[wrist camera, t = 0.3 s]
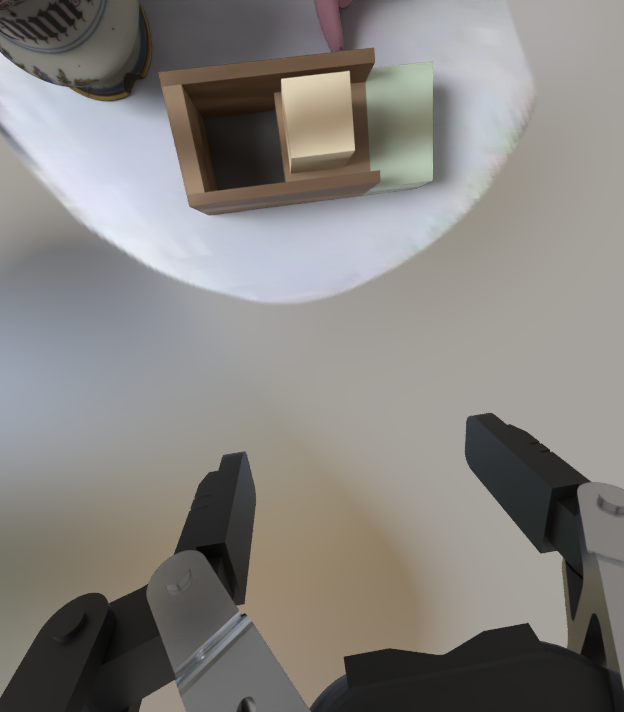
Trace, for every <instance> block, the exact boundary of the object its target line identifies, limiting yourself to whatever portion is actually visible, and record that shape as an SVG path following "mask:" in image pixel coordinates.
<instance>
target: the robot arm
mask: <svg viewBox="0 0 624 712" xmlns="http://www.w3.org/2000/svg"><path fill="white" fill-rule="evenodd" d="M465 455H466V460H467V463H468V465H469V467H470V469H471V470H472V471H473V472H474V474H475V475H476V476H477V477H478V479H479V480H480V481H481V482H482V483H483V484H484V486H485V487H486V488H487V489H488V491H489V492H490V493H491V494H492V495H493V497H494V498H495V499H496V500H497V501H498V502H499V504H500V505H501V506H502V508H503V509H504V510H505V511H506V512H507V514H508V515H509V516H510V517H511V518H512V520H513V521H514V522H515V523H516V524H517V526H518V527H519V528H520V529H521V530H522V532H523V533H524V534H525V535H526V537H527V538H528V539H529V540H530V541H531V543H532V544H533V545H534V546H535V547H536V549H537V550H538V551H539V552H540V553H546V552H552V551H558V552H559V553H560V554H561V555H562V556H563V561H562V574H563V585H564V596H565V606H566V615H567V616H566V617H567V627H568V645H567V648H564V647H561V646H559V645H555V644H550V643H547V642H542V641H539V639H538V637H537V636H536V634H535V633H534V631H533V630H532V628H531V627H530V625H529V623H526V624H520V625H515V626H509V627H504V628H498V629H493V630H488V631H483V632H482V633H480V634H478V635H476V636H475V637H473V638H472V639H470V640H468V641H467V642H465V643H463V644H462V645H460V646H458V647H457V648H455V649H453V650H452V651H450V652H448V653H446V654H444V655H434V654H427V653H419V652H412V651H405V650H398V649H383V650H378V651H373V652H368V653H362V654H356V655H351V656H345V657H344V663H345V670H346V674H345V675H343V676H342V677H340V678H338V679H337V680H335V681H334V682H333V683H332V684H331V685H330V686H328V687H327V688H326V689H325V690H324V691H323V692H322V693H321V694H320V696H319V697H318V698H317V699H316V700H315V702H314V703H313V704H312V706H311V707H310V709H309V708H308V706H307V705H306V703H305V702H304V700H303V699H302V697H301V695H300V694H299V692H298V691H297V689H296V688H295V686H294V685H293V683H292V682H291V680H290V679H289V677H288V676H287V674H286V673H285V671H284V669H283V668H282V666H281V665H280V663H279V662H278V660H277V659H276V657H275V656H274V654H273V653H272V651H271V650H270V648H269V647H268V645H267V643H266V642H265V640H264V639H263V637H262V636H261V634H260V633H259V631H258V630H257V628H256V627H255V625H254V624H253V622H252V621H251V619H250V618H249V617H248V616H247V615H246V614H243V615H242V614H241V612H240V611H239V610H238V608H237V607H236V606H237V605H242V604H244V603H245V595H246V586H247V576H248V568H249V559H250V551H251V542H252V533H253V524H254V515H255V506H256V493H255V486H254V482H253V478H252V474H251V470H250V465H249V461H248V457H247V454H246V452H238V453H232V454H226V455H223V457H222V460H221V463H220V467H219V471H214V472H209V473H208V474H207V475H206V477H205V478H204V479H203V480H202V481H201V483H200V484H199V486H198V489H197V492H196V494H195V500H193V503H192V506H191V511H189V514H188V517H187V519H186V522H185V525H184V528H183V531H182V533H181V536H180V539H179V542H178V545H177V548H176V550H175V553H174V555H173V556H172V557H170V558H169V559H167V560H166V561H165V562H163V563H162V564H161V565H160V566H159V567H158V569H157V570H156V571H155V572H154V574H153V575H152V577H151V579H150V581H149V583H148V584H147V585H146V586H144V587H142V588H140V589H138V590H136V591H134V592H132V593H130V594H128V595H125V596H123V597H121V598H119V599H117V600H115V601H113V602H111V603H108V601H107V599H106V598H105V596H103V595H102V594H100V593H88V594H85V595H82V596H80V597H77V598H76V599H74V600H72V601H70V602H69V603H67V604H66V605H64V606H63V607H62V608H61V609H59V610H58V611H57V612H56V613H55V614H54V615H53V616H52V617H51V618H50V619H49V620H48V621H47V622H46V624H45V625H44V626H43V627H42V629H41V630H40V632H39V633H38V635H37V636H36V638H35V640H34V641H33V643H32V645H31V647H30V648H29V650H28V652H27V653H26V655H25V657H24V658H23V660H22V662H21V664H20V665H19V667H18V669H17V670H16V672H15V674H14V675H13V677H12V679H11V681H10V682H9V684H8V686H7V687H6V689H5V691H4V692H3V694H2V696H1V698H0V712H139V708H140V705H141V701H142V699H143V698H144V697H146V696H148V695H150V694H151V693H153V692H154V691H156V690H158V689H160V688H161V687H163V686H164V685H166V684H168V683H170V682H171V681H173V680H175V681H176V684H177V688H178V690H179V693H180V696H181V699H182V701H183V704H184V707H185V710H186V712H624V489H622V488H619V487H617V486H614V485H610V484H605V483H599V482H591V481H589V480H588V479H587V478H585V477H584V476H583V475H582V474H580V473H579V472H578V471H576V470H575V469H574V468H573V467H571V466H570V465H569V464H567V463H566V462H565V461H564V460H562V459H561V458H560V457H558V456H557V455H556V454H555V453H553V452H550V450H549V449H548V448H547V447H546V446H544V445H543V444H540V443H539V441H538V440H537V439H535V438H534V437H533V436H531V435H530V434H529V433H527V432H526V431H524V430H521V429H519V428H517V427H515V426H513V425H510V424H509V425H506V424H505V423H504V422H503V421H502V420H500V419H499V418H498V417H497V416H495V415H494V414H492V413H486V414H480V415H474V416H469V417H468V418H467V422H466V441H465Z"/></svg>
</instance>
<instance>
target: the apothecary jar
mask: <svg viewBox="0 0 624 712" xmlns="http://www.w3.org/2000/svg"><path fill="white" fill-rule="evenodd" d="M0 52H1V53H2V54H3V55H4V56H5V57H6V58H8V59H9V60H10V61H11V62H13V63H14V64H15V65H17V66H18V67H19V68H21V69H23V70H24V71H26V72H27V73H29V74H31V75H33V76H35V77H37V78H39V79H41V80H44V81H46V82H49V83H52V84H56V85H60V86H65V87H69V88H71V89H72V90H74V91H75V92H77V93H79V94H81V95H83V96H85V97H88V98H91V99H95V100H101V101H111V100H117V99H120V98H123V97H125V96H127V95H129V94H130V92H131V89H132V87H133V84H134V82H135V81H136V80H137V79H142V78H144V77H145V75H146V73H147V71H148V68H149V64H150V60H151V53H152V48H151V36H150V30H149V26H148V22H147V19H146V16H145V14H144V11H143V9H142V7H141V5H140V3H139V1H138V0H0Z"/></svg>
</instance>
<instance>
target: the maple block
mask: <svg viewBox="0 0 624 712" xmlns="http://www.w3.org/2000/svg"><path fill="white" fill-rule="evenodd" d="M281 90H282V113H283V120H284V128H285V135H286V143H287V151H288V158H289V166H290V173H298V172H306V171H314V170H322V169H330V168H338V167H344V166H345V164H346V163H347V161H348V160H349V158H350V157H351V156H352V154H353V153H354V151H355V143H354V128H353V114H352V100H351V85H350V71H345V72H336V73H328V74H319V75H310V76H302V77H293V78H284V79H281Z"/></svg>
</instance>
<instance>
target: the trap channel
mask: <svg viewBox="0 0 624 712" xmlns="http://www.w3.org/2000/svg"><path fill="white" fill-rule="evenodd" d="M374 63H375V54H374V48H366V49H358V50H349V51H340V52H331V53H322V54H313V55H305V56H296V57H287V58H278V59H269V60H261V61H252V62H243V63H234V64H225V65H216V66H208V67H199V68H190V69H181V70H172V71H163V72H158V74H159V79H160V83H161V87H162V92H163V96H164V100H165V104H166V109H167V113H168V117H169V121H170V126H171V130H172V134H173V139H174V143H175V147H176V151H177V156H178V160H179V164H180V169H181V173H182V177H183V181H184V186H185V190H186V194H187V198H188V203H189V207H192V208H194V209H196V210H198V211H200V212H203V213H205V214H207V215H215V214H223V213H231V212H238V211H246V210H254V209H262V208H269V207H277V206H285V205H292V204H300V203H308V202H316V201H323V200H331V199H339V198H346V197H354V196H362V195H370V194H377V193H385V192H393V191H400V190H408V189H416V188H418V187H420V186H422V185H425V184H427V183H429V182H431V181H433V61H431V62H423V63H414V64H405V65H397V66H388V67H380V68H372V67H373V65H374ZM345 71H350V85H351V100H352V114H353V128H354V143H355V151H354V153H353V154H352V156H351V157H350V158H349V160H348V161H347V163H346V164H345V166H344V167H338V168H330V169H322V170H314V171H306V172H298V173H290V166H289V158H288V151H287V143H286V135H285V128H284V120H283V113H282V90H281V79H284V78H293V77H302V76H310V75H319V74H328V73H336V72H345Z"/></svg>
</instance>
